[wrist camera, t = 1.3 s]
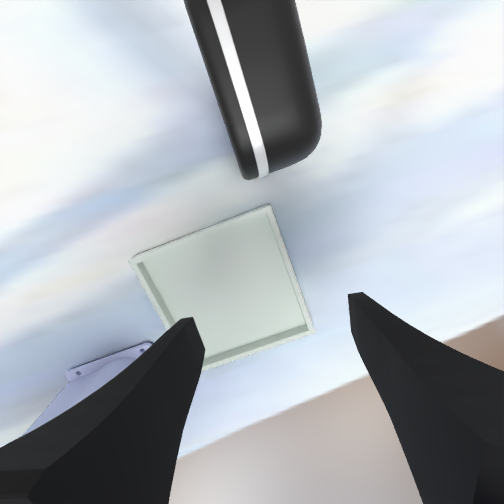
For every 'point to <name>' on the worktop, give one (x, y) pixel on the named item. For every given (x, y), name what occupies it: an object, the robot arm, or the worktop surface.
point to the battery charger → (259, 80)
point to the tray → (228, 286)
